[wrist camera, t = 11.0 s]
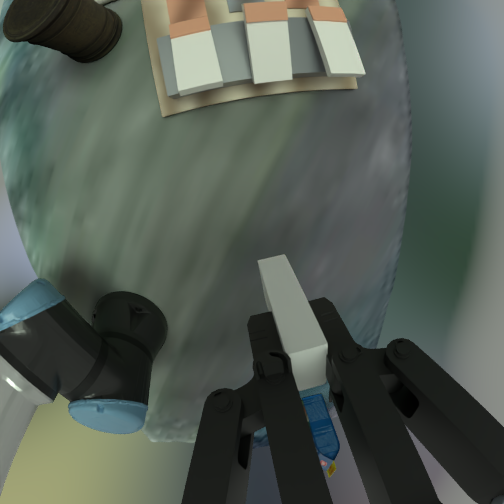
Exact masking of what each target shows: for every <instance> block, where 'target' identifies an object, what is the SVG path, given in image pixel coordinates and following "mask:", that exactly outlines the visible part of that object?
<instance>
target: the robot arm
mask: <svg viewBox="0 0 504 504" xmlns="http://www.w3.org/2000/svg"><path fill="white" fill-rule="evenodd" d="M258 265H259V270H260V275H261V280H262V286H263V291H264V296H265V300H266V304H267V307H268V311H269V312H266V313H262V314H257V315H253V316H250V318H249V321H248V324H247V326H248V332H249V337H250V342H251V348H252V353H253V359H254V361H253V371H254V376H253V378H252V379H251V380H250V381H249V382H248V383H247V384H246V385H244V386H242V387H240V388H238V389H236V390H232V389H227V388H224V389H218V390H216V391H214V392H212V393H211V394H210V395H209V396H208V397H207V399H206V401H205V404H204V408H203V412H202V417H201V421H200V425H199V429H198V434H197V438H196V442H195V446H194V451H193V456H192V459H191V463H190V468H189V472H188V477H187V481H186V485H185V490H184V495H183V499H182V503H181V504H245V502H246V494H247V487H248V480H249V471H250V464H251V456H252V447H253V439H254V432H255V431H257V430H259V429H261V428H263V427H265V426H266V431H267V435H268V440H269V445H270V450H271V455H272V459H273V464H274V468H275V473H276V478H277V483H278V487H279V492H280V496H281V501H282V504H333V502H332V499H331V496H330V493H329V489H328V486H327V483H326V480H325V476H324V473H323V470H322V466H321V463H320V460H319V456H318V453H317V450H316V447H315V443H314V440H313V437H312V434H311V430H310V427H309V424H308V421H307V417H306V414H305V411H304V408H303V404H302V401H301V398H300V395H299V391H301V390H305V389H309V388H312V387H316V386H319V385H322V384H326V378H327V380H328V383H329V385H330V390H329V402H332V400H333V403H334V406H335V408H336V411H337V414H338V416H339V419H340V422H341V424H342V427H343V429H344V432H345V435H346V438H347V440H348V443H349V446H350V448H351V451H352V454H353V456H354V459H355V462H356V465H357V467H358V471H359V473H360V476H361V479H362V482H363V485H364V487H365V490H366V493H367V496H368V499H369V502H370V504H442V503H441V502H440V501H439V499H438V497H437V494H436V492H435V490H434V487H433V485H432V483H431V480H430V478H429V476H428V473H427V471H426V469H425V467H424V465H423V462H422V460H421V458H420V456H419V454H418V451H417V449H416V447H415V445H414V443H413V441H412V439H411V437H410V435H409V433H408V431H407V429H406V426H407V427H408V429H409V430H410V431H411V432H412V433H413V434H414V435H415V436H416V438H417V439H418V440H419V441H420V442H421V443H422V444H423V445H424V446H425V448H426V449H427V450H428V451H429V452H430V453H431V454H432V455H433V457H434V458H435V459H436V460H437V461H438V462H439V463H440V464H441V466H442V467H443V468H444V469H445V470H446V471H447V472H448V473H449V474H450V476H451V477H452V478H453V479H454V480H455V481H456V482H457V484H458V485H459V486H460V487H461V488H462V489H463V490H464V491H465V492H466V493H467V495H468V496H469V497H470V498H472V499H473V500H474V501H475V502H477V503H478V504H504V427H503V426H502V425H501V424H500V423H499V422H498V421H497V420H496V419H495V418H494V417H493V416H492V415H491V414H490V413H489V412H488V411H487V410H486V409H485V408H484V407H483V406H482V405H480V403H479V402H478V401H477V400H475V399H474V398H473V397H472V396H471V395H470V394H469V393H468V392H467V391H466V390H465V389H464V388H463V387H462V386H460V384H458V383H457V382H456V381H455V380H454V379H453V378H452V377H451V376H450V375H449V374H448V373H446V372H445V371H444V370H443V369H442V368H441V367H440V366H439V365H438V364H437V363H436V362H434V361H433V360H432V359H431V358H430V357H429V356H428V355H427V354H426V353H424V352H423V351H422V350H421V349H420V348H419V347H418V346H417V345H415V344H414V343H413V342H411V341H410V340H408V339H404V338H400V339H395V340H393V341H391V342H390V343H389V344H388V345H387V348H380V349H367V348H363V347H362V346H361V345H359V344H357V343H355V341H354V340H353V338H352V337H351V335H350V333H349V331H348V329H347V328H346V326H345V324H344V322H343V321H342V319H341V318H340V315H339V314H338V312H337V310H336V308H335V307H334V305H333V303H332V302H330V301H329V300H328V299H326V298H325V297H323V298H319V299H315V300H312V301H307V299H306V296H305V294H304V292H303V290H302V288H301V286H300V284H299V282H298V280H297V278H296V276H295V274H294V272H293V270H292V268H291V266H290V264H289V262H288V260H287V258H286V256H285V254H284V255H279V256H275V257H270V258H266V259H262V260H258ZM166 333H167V323H166V320H165V317H164V315H163V314H162V312H161V311H160V310H159V308H158V307H157V306H155V305H154V304H153V303H152V302H150V301H149V300H147V299H146V298H144V297H142V296H139V295H137V294H133V293H129V292H113V293H110V294H107V295H105V296H104V297H102V298H101V299H100V300H99V302H98V303H97V305H96V307H95V309H94V312H93V316H92V327H91V326H90V325H89V324H88V323H87V322H86V321H85V320H84V319H83V318H82V317H81V316H80V315H79V313H78V312H77V311H76V310H75V309H74V308H73V307H72V306H71V305H70V304H69V303H68V301H67V300H66V299H65V296H64V295H61V294H60V293H59V292H58V291H57V290H56V289H55V288H54V287H53V285H52V284H51V283H50V282H49V281H47V280H46V279H42V278H39V279H37V280H34V281H33V282H32V283H30V284H29V285H28V286H27V287H26V288H24V289H23V290H22V291H21V292H20V293H19V294H18V295H17V296H15V297H14V298H13V299H12V300H11V301H10V302H9V303H8V304H7V305H6V306H5V307H4V308H3V309H2V310H1V311H0V495H1V492H2V489H3V486H4V483H5V480H6V477H7V474H8V472H9V469H10V467H11V464H12V461H13V459H14V456H15V454H16V452H17V449H18V447H19V445H20V442H21V440H22V438H23V436H24V434H25V432H26V429H27V427H28V425H29V423H30V421H31V419H32V417H33V415H34V413H35V411H36V409H37V407H38V406H39V405H41V404H47V403H53V402H54V400H55V398H56V396H57V394H58V393H60V394H61V395H62V396H64V397H65V398H66V399H68V400H69V401H70V403H69V405H68V408H69V413H70V415H71V416H72V418H73V419H75V420H76V421H77V422H79V423H80V424H82V425H84V426H87V427H89V428H92V429H95V430H98V431H102V432H106V433H113V434H129V433H134V432H137V431H139V430H140V429H141V428H142V427H143V425H144V422H145V417H146V411H147V410H148V398H149V388H150V379H151V371H152V363H153V360H154V358H155V357H156V355H157V353H158V351H159V350H160V349H161V347H162V346H163V344H164V342H165V339H166ZM405 425H406V426H405Z"/></svg>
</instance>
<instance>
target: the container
mask: <svg viewBox="0 0 504 504" xmlns="http://www.w3.org/2000/svg"><path fill="white" fill-rule="evenodd" d="M121 30H122V24H121V19H120V17H119V16H118V14H117V13H115V12H113V11H112V10H110V9H108V8H105V7H104V6H103V5H101V4H98V3H97V2H96V1H94V0H14V1H13V2H12V4H11V5H10V7H9V9H8V11H7V13H6V16H5V19H4V23H3V32H4V35H5V37H6V38H7V39H8V40H9V41H11V42H22V41H23V42H24V41H28V42H29V43H30V44H33V45H41V46H44V47H48V48H51V49H54V50H57V51H60V52H61V53H63V54H65V55H68V57H70V58H71V59H74V60H75V61H77V62H81V63H87V62H92V61H95V60H98V59H100V58H101V57H103V56H104V55H106V54H107V53H108V52H109V51H110V50H111V49H112V48H113V47H114V46H115V44H116V43H117V41H118V39H119V37H120V34H121Z"/></svg>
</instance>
